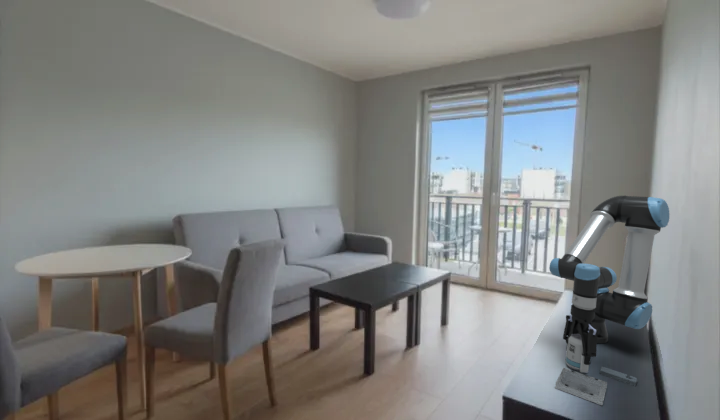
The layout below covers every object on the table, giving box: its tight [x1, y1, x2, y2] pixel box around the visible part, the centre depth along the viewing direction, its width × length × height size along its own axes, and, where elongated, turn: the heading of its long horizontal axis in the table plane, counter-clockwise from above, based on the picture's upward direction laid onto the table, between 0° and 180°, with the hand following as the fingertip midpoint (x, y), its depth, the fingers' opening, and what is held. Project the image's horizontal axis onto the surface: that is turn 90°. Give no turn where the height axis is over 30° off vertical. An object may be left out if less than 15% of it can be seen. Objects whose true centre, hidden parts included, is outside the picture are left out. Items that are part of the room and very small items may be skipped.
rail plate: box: [554, 367, 608, 406], centre depth 118 cm, size 13×13×2 cm
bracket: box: [599, 366, 638, 387], centre depth 126 cm, size 4×10×2 cm, turn 47°
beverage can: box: [565, 334, 584, 372], centre depth 131 cm, size 7×7×12 cm
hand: (576, 366), depth 131 cm, fingers closed on beverage can, 7 cm apart
